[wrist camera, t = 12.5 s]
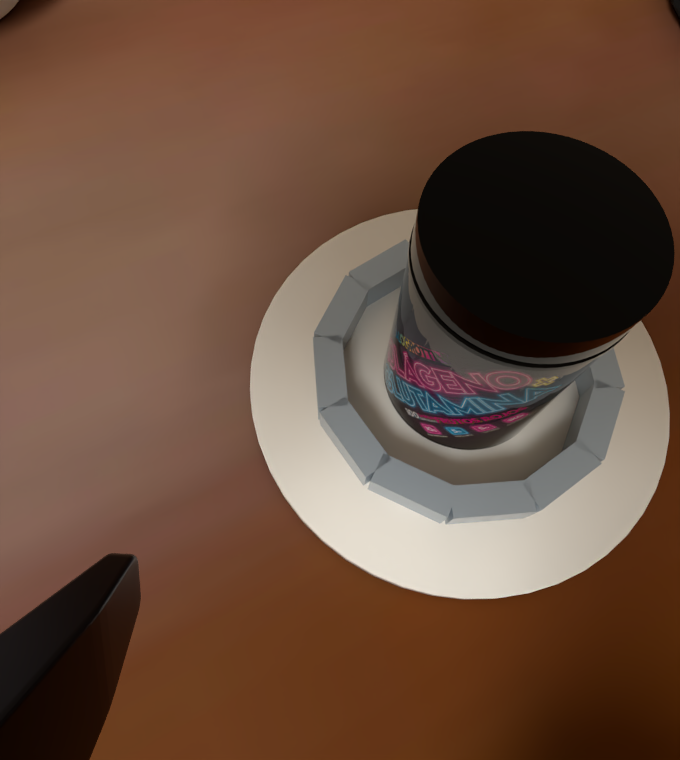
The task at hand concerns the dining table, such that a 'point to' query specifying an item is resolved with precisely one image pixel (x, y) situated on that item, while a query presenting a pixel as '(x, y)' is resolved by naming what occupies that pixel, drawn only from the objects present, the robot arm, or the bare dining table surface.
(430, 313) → the supplement container
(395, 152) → the dining table surface
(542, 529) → the round tray
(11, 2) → the paper bowls
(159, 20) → the dining table surface
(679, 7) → the cable lock
